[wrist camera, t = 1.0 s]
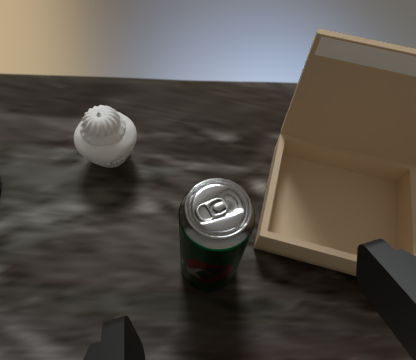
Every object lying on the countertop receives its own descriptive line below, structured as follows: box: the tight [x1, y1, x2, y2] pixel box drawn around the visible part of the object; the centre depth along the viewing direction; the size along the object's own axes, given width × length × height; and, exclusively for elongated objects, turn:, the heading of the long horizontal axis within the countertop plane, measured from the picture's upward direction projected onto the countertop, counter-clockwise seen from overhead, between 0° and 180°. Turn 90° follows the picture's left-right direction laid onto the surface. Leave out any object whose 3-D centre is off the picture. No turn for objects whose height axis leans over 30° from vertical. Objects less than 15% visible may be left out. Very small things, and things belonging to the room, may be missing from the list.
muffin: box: [74, 105, 137, 168], centre depth 35 cm, size 6×6×7 cm
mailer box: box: [254, 29, 416, 276], centre depth 29 cm, size 14×13×15 cm
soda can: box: [179, 178, 255, 292], centre depth 27 cm, size 5×5×12 cm
